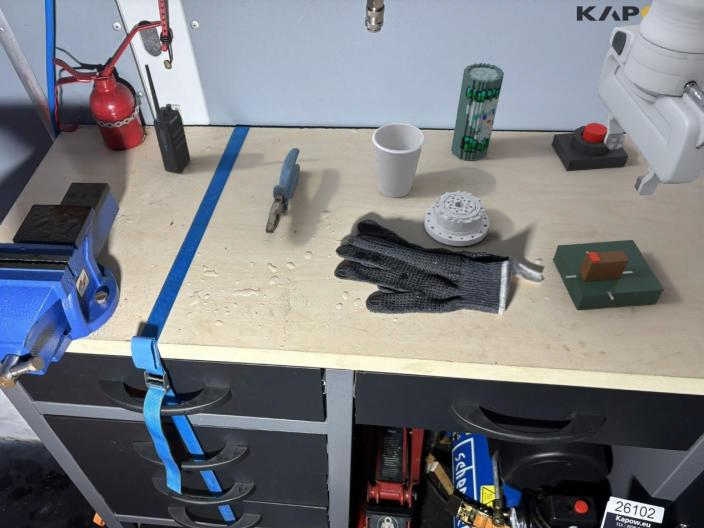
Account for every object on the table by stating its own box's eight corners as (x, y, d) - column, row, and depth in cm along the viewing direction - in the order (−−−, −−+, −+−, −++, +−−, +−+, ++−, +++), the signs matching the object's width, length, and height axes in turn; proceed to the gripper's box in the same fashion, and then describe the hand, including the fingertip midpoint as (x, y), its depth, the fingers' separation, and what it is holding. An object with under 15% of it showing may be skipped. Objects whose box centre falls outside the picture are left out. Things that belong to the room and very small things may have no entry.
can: (467, 164, 107) (481, 85, 95) (445, 148, 110) (456, 70, 99) (493, 153, 108) (511, 74, 97) (471, 137, 112) (485, 59, 101)
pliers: (277, 247, 95) (273, 219, 90) (263, 246, 95) (260, 217, 90) (303, 171, 107) (301, 143, 103) (291, 170, 108) (289, 142, 103)
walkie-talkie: (180, 175, 109) (154, 69, 94) (164, 171, 109) (136, 66, 95) (193, 160, 111) (170, 55, 97) (177, 156, 112) (152, 52, 97)
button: (599, 131, 105) (602, 122, 104) (607, 142, 103) (611, 133, 102) (579, 132, 105) (582, 123, 104) (586, 144, 103) (590, 135, 101)
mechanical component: (432, 201, 100) (416, 239, 94) (435, 179, 97) (419, 217, 91) (493, 213, 98) (481, 253, 92) (498, 191, 94) (486, 232, 88)
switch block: (606, 140, 109) (613, 121, 106) (624, 166, 104) (632, 147, 101) (551, 144, 109) (557, 125, 106) (566, 171, 104) (573, 151, 101)
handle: (614, 268, 84) (623, 248, 81) (620, 278, 83) (629, 259, 80) (578, 271, 84) (586, 251, 81) (583, 281, 83) (592, 262, 80)
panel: (625, 254, 90) (633, 238, 88) (659, 310, 83) (668, 294, 80) (545, 260, 90) (550, 244, 88) (571, 316, 83) (578, 301, 80)
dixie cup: (426, 198, 101) (433, 147, 93) (378, 206, 100) (381, 155, 93) (410, 169, 106) (415, 118, 99) (364, 177, 106) (366, 126, 98)
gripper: (755, 110, 58) (692, 220, 68) (660, 19, 71) (619, 122, 82) (689, 114, 58) (636, 224, 68) (607, 22, 71) (573, 125, 82)
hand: (626, 168), depth 75 cm, fingers open, 8 cm apart
